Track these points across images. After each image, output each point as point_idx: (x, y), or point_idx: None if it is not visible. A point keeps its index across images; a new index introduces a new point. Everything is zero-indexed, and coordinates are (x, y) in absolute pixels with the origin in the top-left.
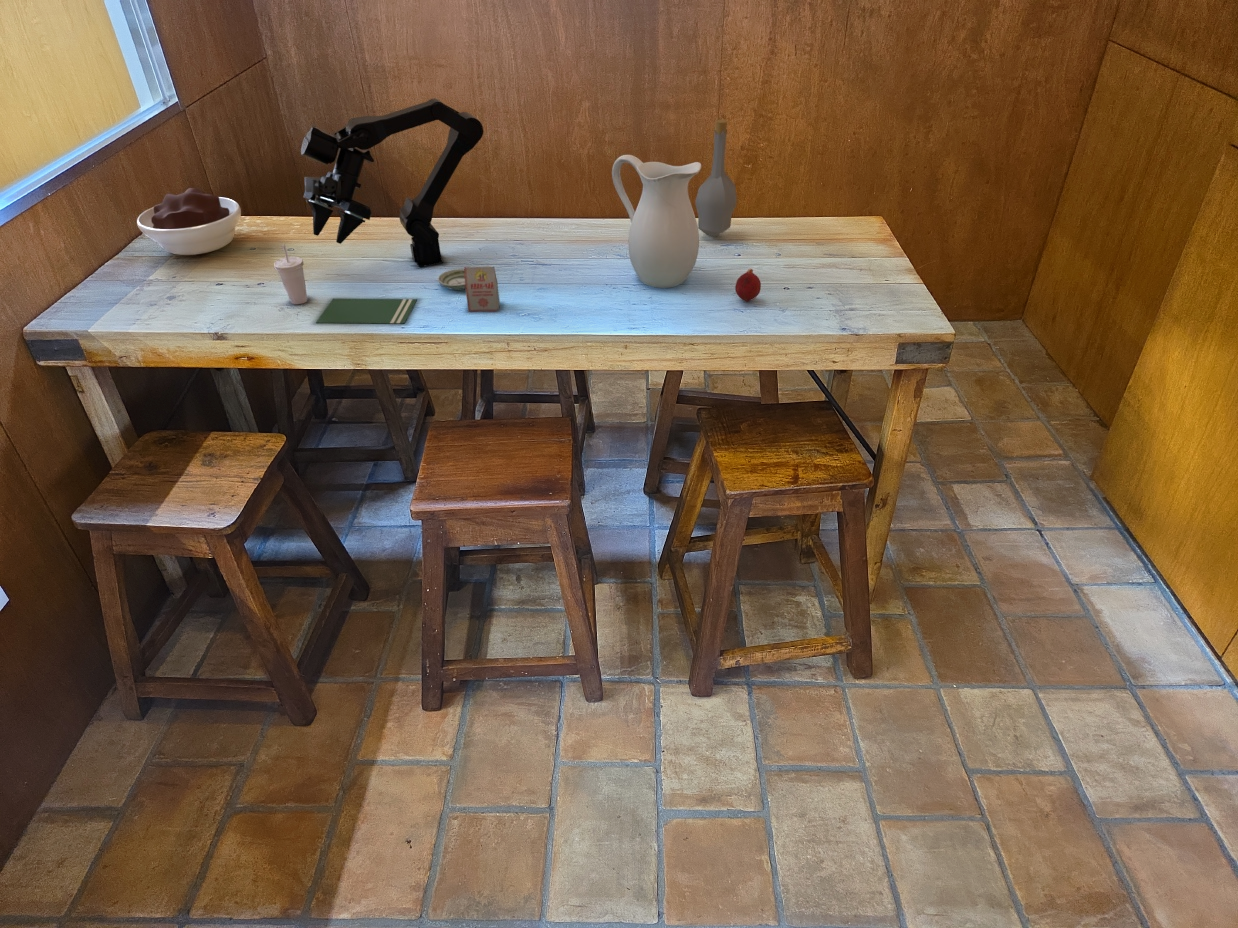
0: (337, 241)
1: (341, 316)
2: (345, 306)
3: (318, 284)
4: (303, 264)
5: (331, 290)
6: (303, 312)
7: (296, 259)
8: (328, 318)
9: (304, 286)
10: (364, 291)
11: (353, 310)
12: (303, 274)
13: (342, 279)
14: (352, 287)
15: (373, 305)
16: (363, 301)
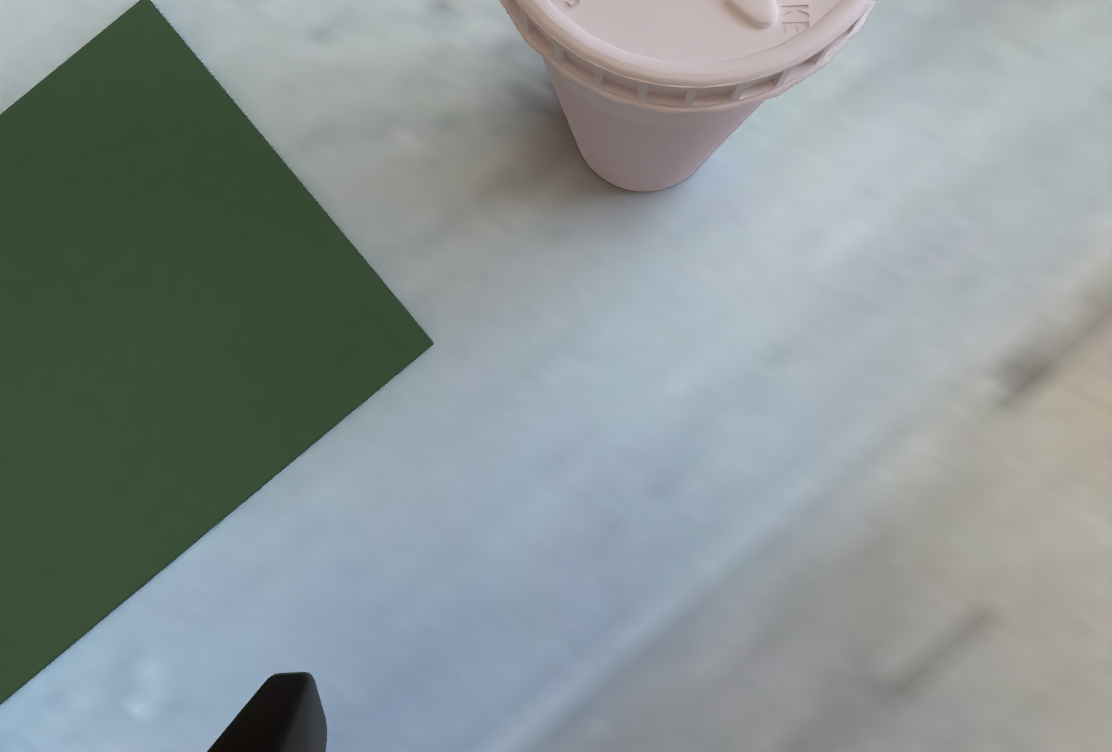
0: (264, 689)
1: (69, 198)
2: (203, 328)
3: (836, 432)
4: (559, 68)
5: (619, 441)
6: (412, 33)
7: (702, 17)
8: (121, 103)
9: (570, 119)
10: (359, 637)
11: (83, 332)
12: (573, 94)
13: (760, 654)
14: (523, 613)
15: (23, 508)
16: (162, 495)
